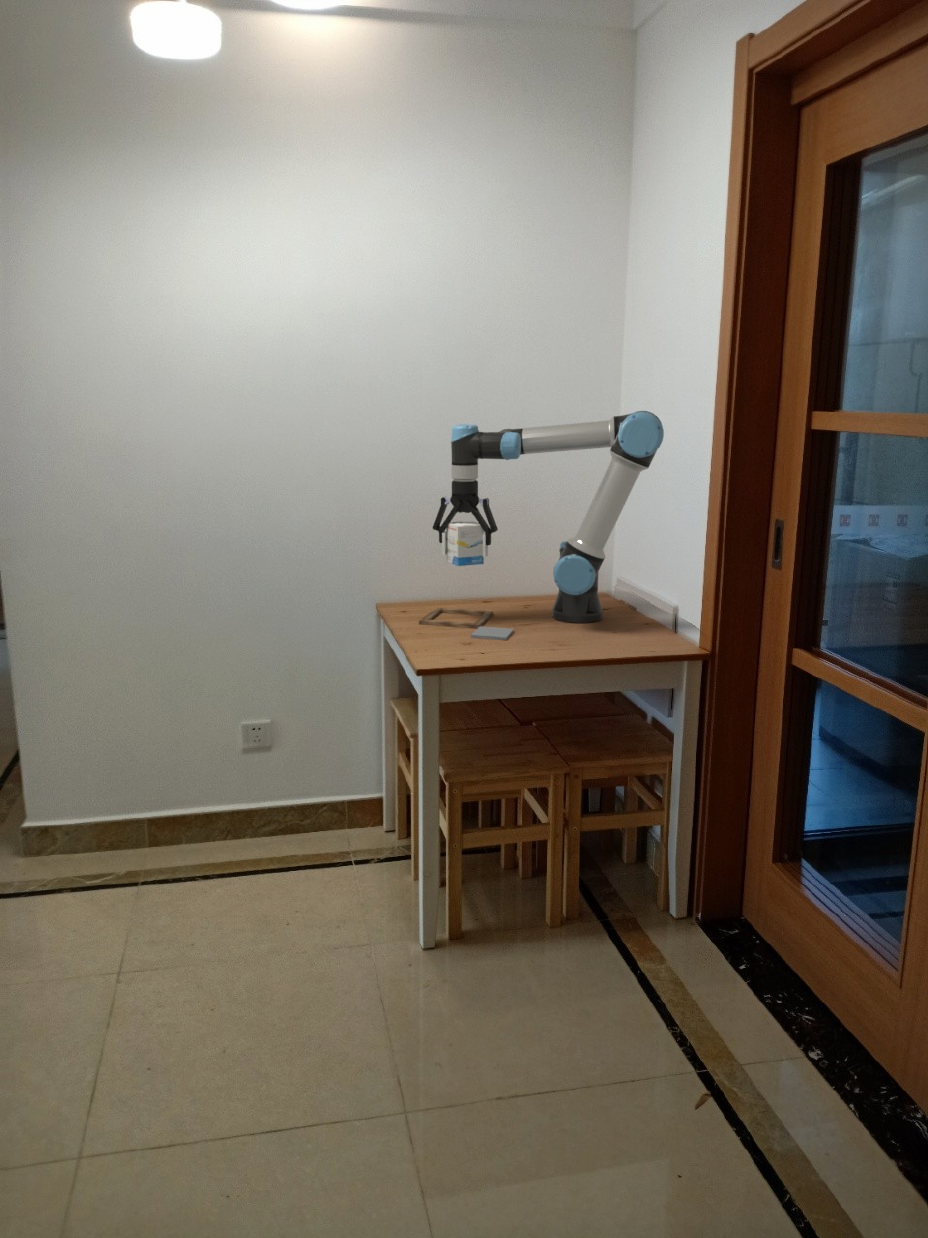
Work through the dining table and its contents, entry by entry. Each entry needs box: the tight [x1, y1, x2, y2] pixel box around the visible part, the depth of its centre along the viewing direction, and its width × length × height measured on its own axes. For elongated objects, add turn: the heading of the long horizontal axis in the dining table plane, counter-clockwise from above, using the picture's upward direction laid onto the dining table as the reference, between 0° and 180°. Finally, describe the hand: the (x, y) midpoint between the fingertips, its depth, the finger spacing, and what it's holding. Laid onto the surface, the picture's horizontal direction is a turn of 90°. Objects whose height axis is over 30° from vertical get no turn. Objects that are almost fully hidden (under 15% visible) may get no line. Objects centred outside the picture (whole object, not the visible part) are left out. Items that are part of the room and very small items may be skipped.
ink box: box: [445, 520, 485, 567], centre depth 293 cm, size 9×8×12 cm
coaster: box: [470, 625, 515, 641], centre depth 284 cm, size 10×10×1 cm
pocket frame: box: [418, 607, 495, 629], centre depth 302 cm, size 18×18×1 cm
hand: (465, 555), depth 294 cm, fingers closed on ink box, 11 cm apart
